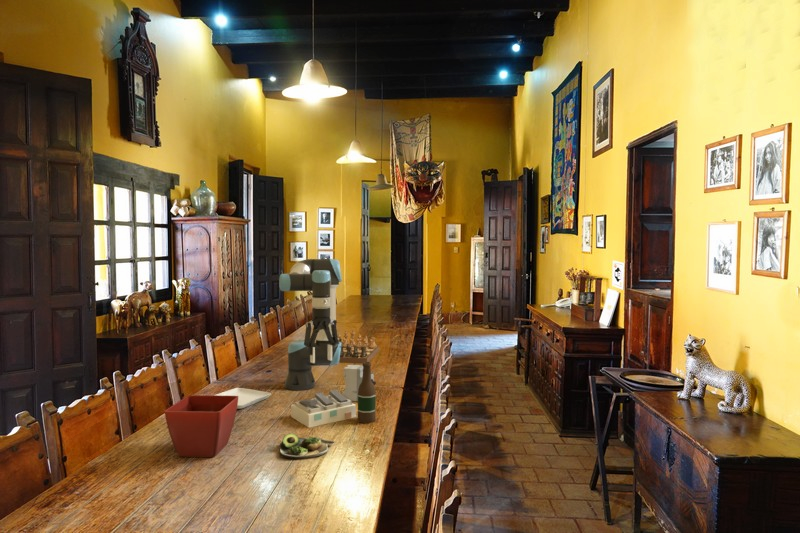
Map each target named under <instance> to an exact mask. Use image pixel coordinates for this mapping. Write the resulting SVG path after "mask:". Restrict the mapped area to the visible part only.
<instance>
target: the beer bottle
mask: <svg viewBox="0 0 800 533" xmlns="http://www.w3.org/2000/svg"><path fill="white" fill-rule="evenodd" d="M362 365H363V378H362V382H361V384H360V386H359V388H358V401H357V422H359V423H361V424H371V423H374V422H376V402H377V401H376V396H377V395H376V386H375V385H374V384H373V383H372V381H371V374H372V371H371V370H372V368H371V366H372V362H370V361H369V362H364V363H363V364H362Z"/></svg>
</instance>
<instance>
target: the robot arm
mask: <svg viewBox="0 0 800 533" xmlns="http://www.w3.org/2000/svg"><path fill="white" fill-rule="evenodd" d="M340 264H341V263H340V260H338V259H335V258H334V259H333V258H309V259H308V258H307V259H303V260H300V261H298V262H296V263H295V264H293V265H292V267H291V268H290V270H289V271H290V272H289V273H281V274H280V275H279V281H278V282H279V283H278V285H279V286H278V287H279V290H280V291H281V292H312V296H311V304H312V305H311V307H312V308H311V311H312V312H311V316H312V318H311V321H306V322H305V334H304V338H303V339H299V340H294V341H292V342H290V343H288V348H287V349H288V350H287V356H288V358H287V361H288V362H287V364H288V365H287V367H288V368H287V374H286V378H285V380H284V388H285V389H286V390H290V391H304V390H310V389H313V388H315V387H316V381H315V378H314V374H313V371H312V367H313V366H314V367H315V366H316V367H317V366H318V367H319V366H322V367H324V366H329V367H331V366H337V365H339V364H340V363H339V359H340V352H341V344H342V343H341V342H339V338H338V331H337V330H338V329H337V289H338V287H339V286H340V283H341V282H342V271H341V265H340Z"/></svg>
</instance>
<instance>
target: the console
mask: <svg viewBox="0 0 800 533" xmlns="http://www.w3.org/2000/svg"><path fill="white" fill-rule="evenodd" d="M325 396H326V397H328V398H329V399H330V400H331V401H332V402H333V405H328V406H325V405H323V404H322V403H321V402H320V401H318V400H317V399H316V398H315V397H314V398H310V399H309V400H317V401H318V404H317V405H312V406H307V405H302V404H300V403H299V401H300V400H299V401H294V404H291V406H290V417H291V418H292V419H294V420H296V421H297V422H299V423H300V424H302V425H304V426H305V427H307V428H313V427H317V426H323V425H326V424H327V425H328V424H330V423H334V422H338V421H340V422H341V421H344V420H347V419H352V418H356V417H357V404H355V403H353V401H351V400H348V401H347V402H343V403H340V402H338V401H336V400H335V399H334V398H333V397H332V396H331V395H330V394H328V395H325Z"/></svg>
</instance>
